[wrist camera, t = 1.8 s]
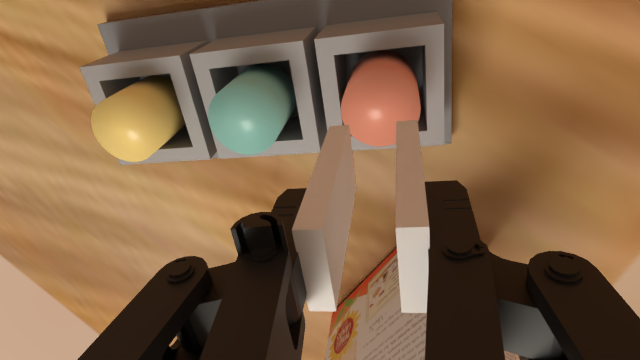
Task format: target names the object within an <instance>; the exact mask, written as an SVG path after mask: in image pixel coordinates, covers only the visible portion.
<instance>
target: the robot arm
mask: <svg viewBox="0 0 640 360" xmlns="http://www.w3.org/2000/svg"><path fill="white" fill-rule="evenodd" d="M356 188H357V187H356V178H355V170H354V161H353V152H352V144H351V135H350V127H349V125H340V126H329V129H328V131H327V134H326V137H325V140H324V142H323V145H322V148H321V151H320V153H319V156H318V159H317V162H316V164H315V167H314V170H313V173H312V175H311V178H310V181H309V184H308V186H307V188H301V189H287V190H286V191H285V192H284V193H283V194H281V195H280V196H279V197H278V198H277V200H276V202H275V205H274V207H273V209H272V211H271V212H259V213H254V214H250V215H248V216H245V217H243V218H241V219H240V220H238V221H237V222H236V223H235V224H234V225H233V226H232V228H231V232H232V236H233V239H234V242H235V246H236V249H237V252H238V257H237V260H236V261H235V262H233V263H229V264H226V265H222V266H217V267H213V268H209V269H208V266H207V263H206V262H205V261H204V260H203V259H202V258H200V257H196V256H188V257H183V258H179V259H176V260H174V261H172V262H170V263H168V264H166V265H165V266H164V267H163V268H162V269H160V270H159V271H158V272H157V273H156V275H155V276H154V277H153V278H152V279H151V280H150V281H149V282H148V283H147V284H146V285H145V287H144V288H143V289H142V290H141V291H140V292H139V293H138V294H137V295H136V296H135V297H134V299H133V300H132V301H131V302H130V303H129V304H128V305H127V306H126V307H125V308H124V309H123V311H122V312H121V313H120V314H119V315H118V316H117V317H116V318H115V319H114V320H113V321H112V322H111V324H110V325H109V326H108V327H107V328H106V329H105V330H104V331H103V332H102V333H101V334H100V336H99V337H98V338H97V339H96V340H95V341H94V342H93V343H92V344H91V345H90V346H89V348H88V349H87V350H86V351H85V352H84V353H83V354H82V355H81V356H80V357H79V358H78V360H301V355H302V347H303V340H304V332H305V319H304V314H303V307H304V303H305V299H307V304H308V308H309V311H336V310H337V304H338V298H339V292H340V286H341V280H342V274H343V268H344V262H345V255H346V249H347V243H348V237H349V231H350V225H351V219H352V213H353V207H354V201H355V195H356ZM396 242H397V256H398V270H399V285H400V299H401V313H427V319H426V342H425V360H505V354H504V351H507V352H510V353H514V354H517V355H519V358H520V360H640V318H639V317H638V316H637V315H636V314H635V312H634V311H633V310H632V309H631V307H630V306H629V305H628V304H627V303H626V302H625V300H624V299H623V298H622V297H621V296H620V295H619V293H618V292H617V291H616V290H615V289H614V288H613V286H612V285H611V284H610V283H609V282H608V281H607V279H606V278H605V277H604V276H603V275H602V274H601V272H600V271H599V270H598V269H597V268H596V267H595V266H594V265H592V264H591V263H590V262H589V261H588V260H586V259H584V258H581V257H579V256H577V255H575V254H571V253H566V252H562V251H547V252H543V253H539V254H537V255H535V256H534V257H533V258H531V259H530V261H529V264H523V263H518V262H513V261H509V260H506V259H502V258H500V257H498V256H496V255H494V254H492V253H491V252H489V250H488V247H487V245H486V244H484V243H483V242H482V241H481V240H480V237H479V233H478V229H477V226H476V222H475V218H474V215H473V211H472V208H471V204H470V201H469V197H468V193H467V189H466V188H465V187H464V186H462V185H461V184H460V183H459V182H458V181H434V182H424V173H423V164H422V155H421V146H420V137H419V128H418V120H407V121H396ZM175 336H177V338H178V339H177V340H176V341H175V343H174V344H173V345H172V346H171V347H169V344H170V343H171V342H172V340H173V339H174V338H175Z"/></svg>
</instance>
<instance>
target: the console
mask: <svg viewBox="0 0 640 360" xmlns="http://www.w3.org/2000/svg"><path fill="white" fill-rule="evenodd" d="M98 27H99V30H100V33H101V35H102V38H103V41H104V43H105V46H106V49H107V51H108V54H109V56H106V57H104V58H101V59H99V60H96V61H94V62H91V63H89V64H87V65H84V66H82V67H80V70H81V72H82V75H83V77H84V80H85V82H86V84H87V87H88V89H89V92H90V94H91V96H92V99H93V101H94V104H95V106H96V105H97V104H98V103H99V102H101V101H102V100H104V99H106V98H108V97H110V96H112V95H113V94H115V93H117V92H119V91H121V90H122V89H124V88H126V87H128V86H130V85H132V84H133V83H135V82H137V81H139V80H141V79H143V78H144V77H147V76H151V75H158V76H163V77H166V78H168V79H170V80H172V82H173V85H174V88H175V92H176V95H177V98H178V101H179V104H180V107H181V111H182V114H183V117H184V120H185V123H186V125H185V126H184V127H183V128H182V129H181V130H180V131H178V132H177V133H176V134H175V135H174V136H173V137H172V138H170V139H169V140H168V141H167V142H166V143H165V144H164V145H162V146H161V147H160V148H159V149H158V150H157V151H156V152H155V153H153V154H152V155H151V156H150V157H149V158H147V159H145V160H143V161H140V162H128V161H124V160H121V159H119V158H117V159H118V161H119V164H120V165H127V164H143V163H159V162H176V161H192V160H208V159H211V158H219V159H224V158H241V157H257V156H273V155H289V154H306V153H320V151H321V148H322V145H323V142H324V140H325V137H326V134H327V131H328V129H329V126H340V125H344V123H343V120H342V116H341V103H342V99H343V96H344V93H345V90H346V87H347V84H348V81H349V78H350V75H351V73H352V70H353V68H354V66H355V65H356V63H357V62H358V61H359V60H360V59H361V58H362V57H364V56H365V55H367V54H369V53H371V52H374V51H378V50H390V51H394V52H397V53H399V54H401V55H403V56H404V57H405V58H407V59H408V60H409V62H410V63H411V64H412V66H413V68H414V70H415V72H416V76H417V83H418V91H419V98H420V106H421V111H420V117H419V121H418V128H419V137H420V146H436V145H444V144H449V143H451V112H452V0H256V1H249V2H242V3H235V4H228V5H221V6H214V7H207V8H200V9H193V10H186V11H179V12H172V13H165V14H159V15H152V16H145V17H138V18H131V19H124V20H117V21H110V22H105V23H101V24H98ZM260 63H265V64H271V65H274V66H276V67H278V68H280V69H281V70H283V71H284V72H285V73H286V74H287V75H288V76H289V77H290V79H291V80H292V82H293V85H294V91H295V96H296V105H295V108H294V111H293V112H292V114H291V116H290V117H289V119H288V121H287V122H286V124H285V126H284V127H283V129H282V131H281V132H280V134H279V135H278V137H277V139H276V140H275V142H274V143H273V145H272V146H271V147H270V148H268V149H267V150H265V151H264V152H261V153H258V154H253V155H245V154H240V153H236V152H234V151H232V150H230V149H228V148H227V147H225V146H224V145H223V144H221V143H220V142H219V141H218V139H217V138H216V137H215V135H214V134H213V132H212V130H211V128H210V125H209V120H208V110H209V105H210V103H211V101H212V99H213V97H214V96H215V95H216V94H217V93H218V92H219V91H220V90H222V89H223V88H224V87H225V86H226V85H227V84H229V83H230V82H231V81H232V80H233V79H234V78H236V77H237V76H238V75H239V74H240V73H241V72H243V71H244V70H245V69H246V68H248V67H249V66H251V65H254V64H260ZM350 135H351V134H350ZM351 144H352V151H354V150H371V149H387V148H396V144H393V145H390V146H383V147H378V146H371V145H367V144H365V143H362V142H360V141H359V140H357V139H356V138H354V137H353V136H352V135H351Z"/></svg>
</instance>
